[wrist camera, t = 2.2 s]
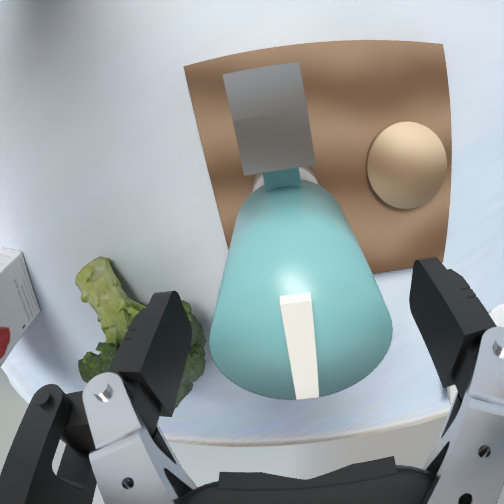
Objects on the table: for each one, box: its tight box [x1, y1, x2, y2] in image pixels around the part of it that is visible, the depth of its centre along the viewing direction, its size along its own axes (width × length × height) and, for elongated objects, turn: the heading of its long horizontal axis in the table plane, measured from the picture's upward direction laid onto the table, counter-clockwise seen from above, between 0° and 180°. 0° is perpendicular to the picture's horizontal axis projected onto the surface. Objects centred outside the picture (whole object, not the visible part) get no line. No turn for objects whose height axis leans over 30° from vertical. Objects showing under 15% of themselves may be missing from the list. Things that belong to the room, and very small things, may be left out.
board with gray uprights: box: [184, 40, 452, 274], centre depth 16 cm, size 18×18×12 cm
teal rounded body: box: [209, 167, 393, 400], centre depth 11 cm, size 9×5×7 cm, turn 11°
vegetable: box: [75, 257, 206, 411], centre depth 26 cm, size 12×13×15 cm
